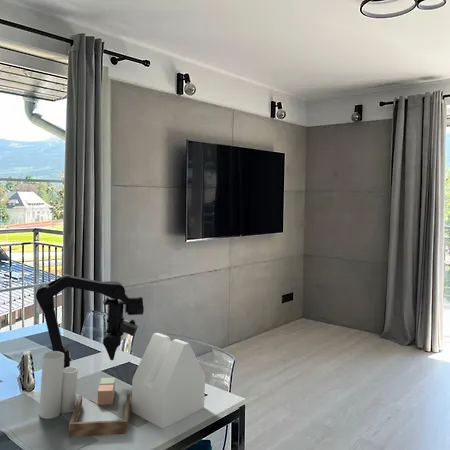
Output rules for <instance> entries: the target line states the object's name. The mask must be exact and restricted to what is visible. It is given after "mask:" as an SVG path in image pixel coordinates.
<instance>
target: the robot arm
mask: <svg viewBox="0 0 450 450" xmlns="http://www.w3.org/2000/svg"><path fill="white" fill-rule="evenodd" d="M66 288H73V289H78V290H84V291H88V292H93V293H98V294H101V295H104V296H105V297H106V298H105V299H104V300H102V303H103V306H104V305H105V306H107V318H106V323H107V324H106V330H105V331H106V332H105V335H104V337H103V339H102V345H103V346H104V348H105V350H106V352H107V355H108V357H109V359H110V361H114V360H115V356H116V352H117V350H118V349H117V348H119V347H120V346H121V344H122V336H123V335H124V333H125V334H127V335H130V336H131V337H135V336H136V335H135V334H136V332H137V330H138V327H139V326H138V324H136V320H135V319H133V318H132V319H131V320H129V321H128V320H127V321H126V320H125V317H124V313H125V314H126V313H127V316H143V315H144V313H145V312H144V309H145V307H144V298H143V297H142V296H138V297H129V296H128V294H126V289H125V287H124V286H123V283H121V282H120V281H109V280H108V281H98V280H94V279H88V278H83V277H81V276H79V277H78V276H74V275H70V274H69V273H68V274H67V273H66V274H63V275H62V276H60V277H59V278H57V279H55V280H52V281H50V282H49V283H43V284H40V285H39V286H38V288H36V293H35V299H36V300H37V303H38V305H39V307H40V309H41V310H42V313H43V316H44V319H45V323H46V327H47V331H48V336H49V339H50V344H51V349H52V351H59V352H62V353H64V368H66V367H71V362H72V354H71V352H70V345H66V346H65V344H64V342H63V337H62V335H61V330H60V326H59V322H58V319H57V313H56V310H55V296H57V295H58V294H60V293H61V292H62V291H63V290H65V289H66Z"/></svg>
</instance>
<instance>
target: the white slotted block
mask: <svg viewBox="0 0 450 450" xmlns="http://www.w3.org/2000/svg"><path fill="white" fill-rule="evenodd" d="M131 382H132V383H131V389H132V390H131V392H132V393H131V413H133V414H135V415H137V416H139V417H140V418H143V419H144V420H146V421H148V422H150V423H151V424H153V425H155V426H157V427H159V428H160V429H165V428H167V427H168V426H170V425H172V424H174V423H176V422H178V421H181V420H182V419H185V418H186V417H188V416H190V415H192V414H194V413H196V412H198V411H200V410H203V409H204V408H205V392H206V391H205V389H206V387H205V386H206V374H205V372H204V370H203V369H202V367H201V365H200V363H199V360H198V359H197V357H196V355H195V353H194V351H193V348H192V347H191V345H190V343H189V342H186V341H183V340H180V339H178V338H177V339H176V338H175V339H172V340H171V338H170V336H168V335H166V334H163V333H160V332H154V333H153V334H152V336H151V337H150V340H149V343H148V344H147V346H146V349H145V351H144V354H143V355H142V357H141V359H140V362H139V364H138V366H137V368H136V371H135V373H134V375H133V376H132V381H131Z"/></svg>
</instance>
